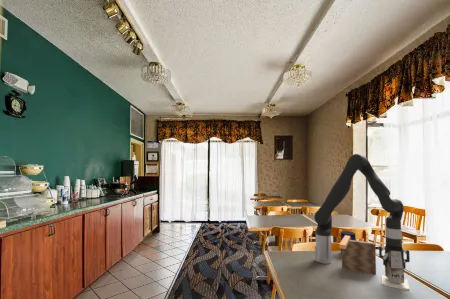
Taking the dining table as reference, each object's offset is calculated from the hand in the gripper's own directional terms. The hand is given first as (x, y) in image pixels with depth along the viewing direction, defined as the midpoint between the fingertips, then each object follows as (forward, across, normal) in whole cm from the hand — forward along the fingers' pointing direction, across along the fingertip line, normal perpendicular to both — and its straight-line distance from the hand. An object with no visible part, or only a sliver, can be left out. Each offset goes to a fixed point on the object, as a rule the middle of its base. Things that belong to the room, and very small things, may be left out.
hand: (394, 267), depth 145 cm
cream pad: (+8, 0, 0) cm, 8 cm away
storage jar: (+8, -27, +40) cm, 49 cm away
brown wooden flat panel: (+8, -18, +9) cm, 22 cm away
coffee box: (+6, 0, 0) cm, 6 cm away
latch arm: (-9, -24, -1) cm, 26 cm away
